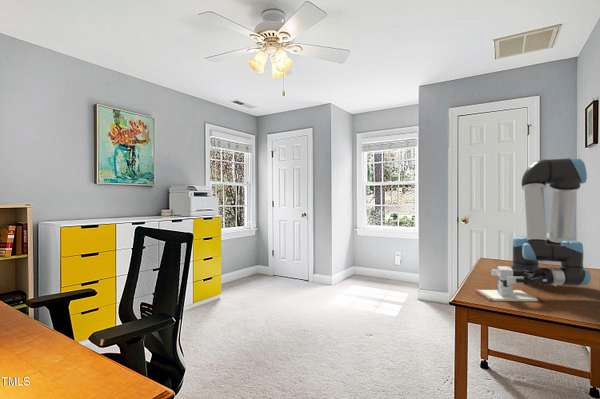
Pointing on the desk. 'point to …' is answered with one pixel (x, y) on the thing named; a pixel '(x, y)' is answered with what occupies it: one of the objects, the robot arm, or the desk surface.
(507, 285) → the ink box
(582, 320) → the desk surface
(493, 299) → the notepad
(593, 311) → the desk surface
